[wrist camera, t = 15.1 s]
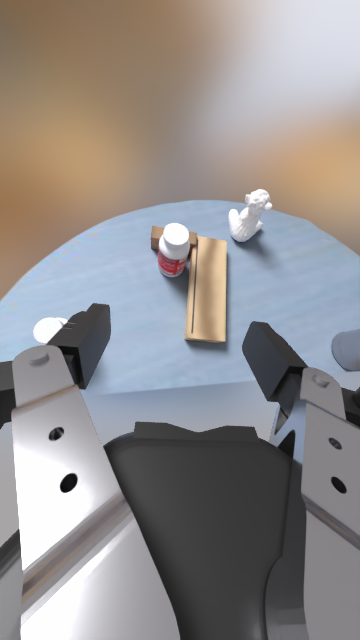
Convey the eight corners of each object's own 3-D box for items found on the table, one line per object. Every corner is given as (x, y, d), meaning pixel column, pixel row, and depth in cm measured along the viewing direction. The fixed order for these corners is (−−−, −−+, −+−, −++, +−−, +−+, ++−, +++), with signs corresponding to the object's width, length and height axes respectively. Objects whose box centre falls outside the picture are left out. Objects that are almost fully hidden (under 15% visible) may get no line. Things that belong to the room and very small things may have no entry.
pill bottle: (178, 282, 43) (186, 254, 32) (153, 271, 42) (153, 240, 32) (187, 260, 44) (198, 227, 34) (164, 250, 44) (167, 214, 33)
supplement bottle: (79, 320, 37) (54, 306, 28) (94, 341, 37) (74, 333, 28) (54, 337, 36) (19, 327, 27) (70, 358, 36) (40, 356, 26)
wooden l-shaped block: (222, 248, 46) (228, 238, 42) (220, 343, 40) (227, 340, 36) (152, 238, 44) (152, 225, 41) (139, 335, 38) (138, 332, 35)
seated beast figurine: (260, 227, 50) (292, 185, 38) (252, 252, 47) (284, 215, 36) (229, 212, 50) (251, 166, 38) (219, 237, 47) (240, 195, 36)
